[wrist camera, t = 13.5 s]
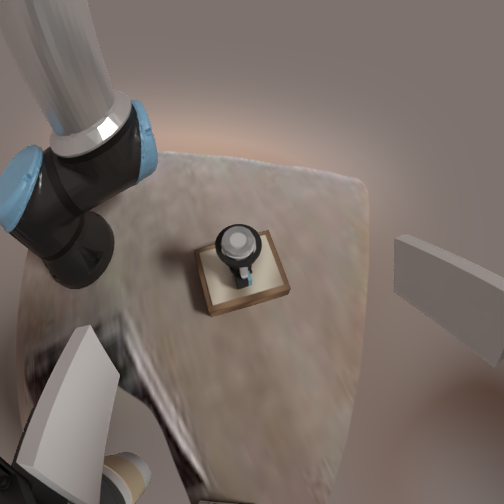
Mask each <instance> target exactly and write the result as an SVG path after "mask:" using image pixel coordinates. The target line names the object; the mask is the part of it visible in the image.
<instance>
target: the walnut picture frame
mask: <svg viewBox="0 0 504 504" xmlns="http://www.w3.org/2000/svg"><path fill="white" fill-rule="evenodd" d="M258 234H259V235H260V237H261V241H262V249H261V253H260V255H259V257H258V258H257V259H256V260H255V262H254V263H253V264H252V273H251V274H250V275H251V278H252V285H251V286H248V287H245V288H242V289H239V290H238V288H237V285H236V281H235V277H234V275H232V277H233V278H232V277H231V274H230V270H229V266H227V265H226V264H225V263H224V262H223V261H221V259H220V258H219V257H218V255H217V253H216V249H215V244H214V245H211V246H207V247H204V248H200V249H196V250H194V254H195V259H196V263H197V267H198V271H199V275H200V280H201V284H202V288H203V291H204V295H205V299H206V303H207V307H208V311H209V313H210V315H211V316H212V317H213V316H217V315H220V314H224V313H228V312H231V311H235V310H238V309H242V308H245V307H249V306H252V305H255V304H259V303H262V302H265V301H269V300H272V299H275V298H278V297H282V296H285V295H288V293H289V291H290V289H291V288H290V285H289V283H288V280H287V277H286V275H285V272H284V269H283V267H282V264H281V261H280V259H279V256H278V254H277V251H276V248H275V246H274V243H273V241H272V238H271V235H270V233H269V230H267V231H263V232H259V233H258ZM255 250H256V246H255V249H254V252H255ZM222 253H223V254H224V252H223V250H222ZM224 255H225V254H224Z"/></svg>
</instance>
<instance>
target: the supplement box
mask: <svg viewBox="0 0 504 504" xmlns="http://www.w3.org/2000/svg"><path fill="white" fill-rule="evenodd" d="M198 504H237V503H222V502H211V501H202V500H200V501H199V503H198Z"/></svg>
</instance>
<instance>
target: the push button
mask: <svg viewBox="0 0 504 504" xmlns="http://www.w3.org/2000/svg"><path fill="white" fill-rule="evenodd" d="M255 246H256V250H255V252H254V249H255ZM215 249H216V253H217V255H218V257H219V258H220V259H221V261H223V262H224V263H225V264H226V265H227V266H229V270H230V274H231V277H232V275H234V277H235V281H236V285H237V288H238V290H239V289H242V288H245V287H248V286H251V285H252V278H251V275H250V274H251V273H252V264H253V263H254V262H255V260H256V259H257V258H258V257H259V255H260V253H261V249H262V241H261V237H260V235H259V234H258V232H257V231H256V230H255V229H253V228H252V227H250V226H247V225H243V224H235V225H231V226H228V227H226V228H225V229H223V230H222V231H221V232H220V233H219V235H218V236H217V238H216V242H215ZM222 250H223V252H224V254H225V255H224V254H223V253H222ZM232 278H233V277H232Z"/></svg>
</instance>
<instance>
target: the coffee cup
mask: <svg viewBox="0 0 504 504" xmlns="http://www.w3.org/2000/svg"><path fill="white" fill-rule="evenodd" d="M151 477H152V475H151V471H150V468H149V467H148V465H147V464H146V462H145V461H143V460H142V459H141V458H140V457H138V456H137V455H135V454H133V453H129V452H123V453H119V454H116V455H110V456H106V457H104V462H103V470H102V479H101V489H100V502H99V504H135V503H136V502H137V500H138V499H139V498H140V497H141V495H142V494H143V492H144V490H145V488H146V487H147V486H148V485H149V483H150V482H151ZM68 503H69V504H75V503H73V502H71V501H69V500H68Z"/></svg>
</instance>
